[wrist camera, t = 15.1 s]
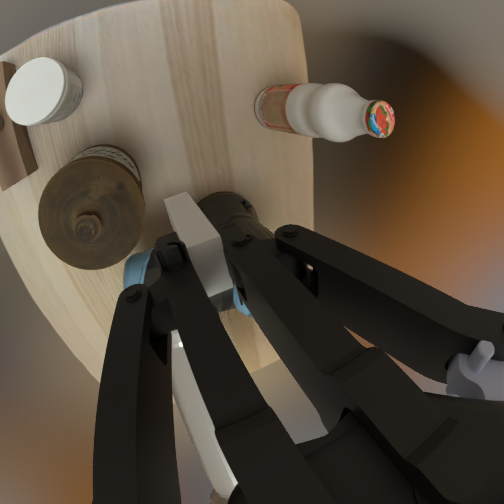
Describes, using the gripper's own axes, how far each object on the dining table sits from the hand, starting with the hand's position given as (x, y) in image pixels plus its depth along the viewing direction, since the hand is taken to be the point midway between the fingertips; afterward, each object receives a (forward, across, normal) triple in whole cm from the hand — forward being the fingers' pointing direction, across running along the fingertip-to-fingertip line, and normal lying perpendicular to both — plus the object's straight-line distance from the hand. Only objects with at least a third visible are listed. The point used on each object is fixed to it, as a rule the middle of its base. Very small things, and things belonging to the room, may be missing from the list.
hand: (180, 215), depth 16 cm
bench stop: (+34, +24, -16) cm, 45 cm away
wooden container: (+35, +10, +3) cm, 36 cm away
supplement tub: (+35, +13, -16) cm, 40 cm away
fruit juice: (+35, -26, -2) cm, 43 cm away
